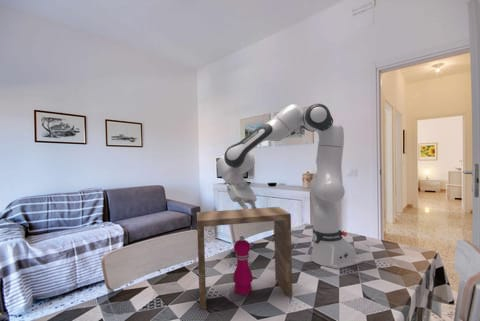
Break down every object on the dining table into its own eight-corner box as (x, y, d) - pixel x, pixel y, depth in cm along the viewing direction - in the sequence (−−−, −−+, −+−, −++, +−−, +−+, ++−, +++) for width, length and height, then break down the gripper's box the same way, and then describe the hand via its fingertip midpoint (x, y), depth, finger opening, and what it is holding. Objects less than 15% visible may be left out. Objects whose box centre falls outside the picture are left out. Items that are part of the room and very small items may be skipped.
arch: (280, 278, 96) (278, 206, 95) (292, 295, 84) (290, 213, 84) (199, 289, 90) (196, 212, 89) (200, 309, 78) (197, 221, 77)
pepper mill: (251, 296, 85) (250, 240, 84) (231, 294, 86) (230, 239, 86) (254, 285, 92) (253, 233, 91) (235, 283, 93) (234, 232, 93)
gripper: (230, 178, 106) (245, 204, 100) (250, 183, 123) (264, 206, 117) (220, 186, 107) (234, 213, 101) (241, 190, 125) (254, 213, 119)
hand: (250, 209), depth 109 cm, fingers open, 8 cm apart
